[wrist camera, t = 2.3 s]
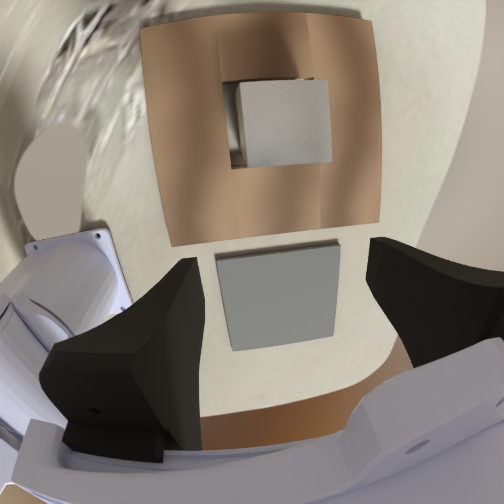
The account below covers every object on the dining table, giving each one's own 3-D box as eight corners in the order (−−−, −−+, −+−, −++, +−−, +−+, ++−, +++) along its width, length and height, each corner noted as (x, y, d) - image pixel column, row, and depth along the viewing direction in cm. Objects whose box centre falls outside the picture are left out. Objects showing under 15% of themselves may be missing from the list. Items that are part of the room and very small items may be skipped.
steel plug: (241, 154, 19) (248, 168, 14) (235, 93, 17) (239, 82, 12) (302, 149, 20) (332, 162, 14) (298, 89, 18) (327, 80, 12)
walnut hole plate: (173, 240, 22) (171, 247, 21) (144, 33, 15) (140, 29, 13) (372, 217, 22) (378, 222, 21) (364, 24, 15) (371, 20, 14)
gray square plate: (232, 348, 27) (232, 351, 27) (216, 258, 23) (216, 261, 22) (331, 333, 28) (333, 335, 27) (338, 243, 23) (340, 245, 23)
